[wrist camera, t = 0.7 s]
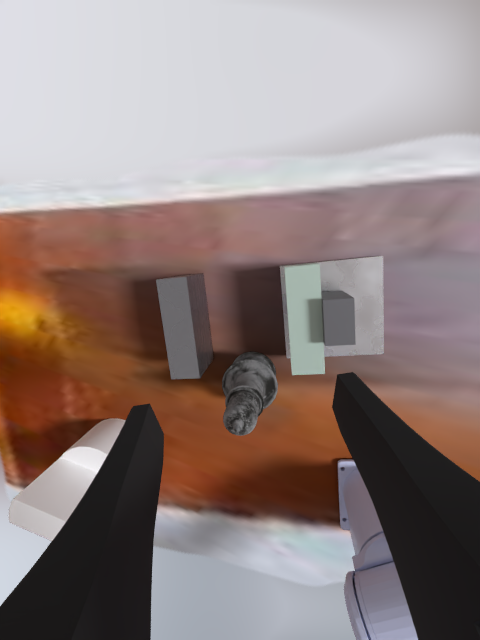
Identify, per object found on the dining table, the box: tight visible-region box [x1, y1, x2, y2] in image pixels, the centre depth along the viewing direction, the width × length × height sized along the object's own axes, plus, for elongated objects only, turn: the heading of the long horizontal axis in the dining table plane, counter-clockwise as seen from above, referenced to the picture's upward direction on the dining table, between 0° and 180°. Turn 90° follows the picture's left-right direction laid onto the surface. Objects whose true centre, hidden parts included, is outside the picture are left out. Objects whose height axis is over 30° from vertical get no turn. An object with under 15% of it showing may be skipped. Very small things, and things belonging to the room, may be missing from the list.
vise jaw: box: [284, 263, 356, 375], centre depth 28 cm, size 10×6×6 cm, turn 6°
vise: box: [156, 256, 384, 379], centre depth 30 cm, size 10×22×6 cm, turn 96°
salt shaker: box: [222, 352, 278, 436], centre depth 29 cm, size 6×6×12 cm
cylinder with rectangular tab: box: [9, 418, 126, 541], centre depth 34 cm, size 9×9×12 cm
